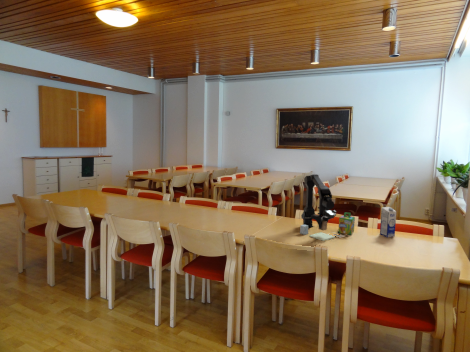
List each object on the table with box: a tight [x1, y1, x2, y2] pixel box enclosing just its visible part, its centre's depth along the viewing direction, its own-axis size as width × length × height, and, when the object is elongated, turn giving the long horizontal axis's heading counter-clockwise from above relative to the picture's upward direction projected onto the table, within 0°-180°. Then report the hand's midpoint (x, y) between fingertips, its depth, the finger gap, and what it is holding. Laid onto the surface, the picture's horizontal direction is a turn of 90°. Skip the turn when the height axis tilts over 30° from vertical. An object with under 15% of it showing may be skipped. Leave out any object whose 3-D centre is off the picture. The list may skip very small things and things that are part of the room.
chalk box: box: [337, 212, 356, 236], centre depth 238 cm, size 9×9×15 cm
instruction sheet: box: [333, 233, 346, 239], centre depth 232 cm, size 10×7×1 cm
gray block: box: [299, 224, 309, 236], centre depth 235 cm, size 4×4×6 cm
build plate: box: [309, 232, 336, 242], centre depth 228 cm, size 12×12×1 cm
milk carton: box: [379, 206, 397, 238], centre depth 231 cm, size 7×7×20 cm
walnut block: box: [317, 220, 328, 231], centre depth 227 cm, size 4×4×6 cm
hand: (322, 228), depth 227 cm, fingers closed on walnut block, 4 cm apart
